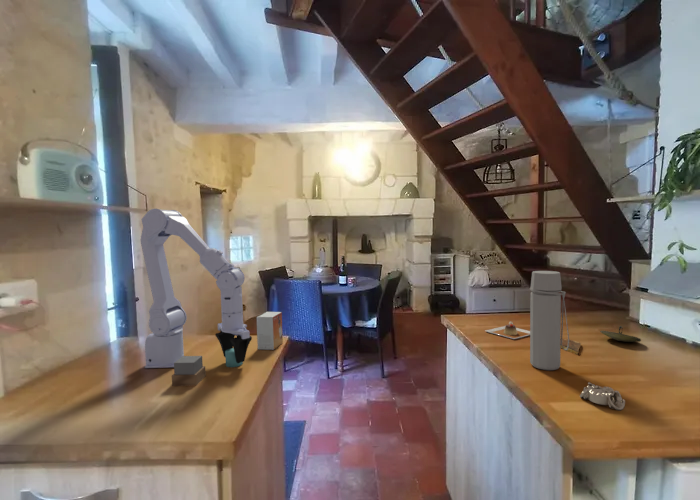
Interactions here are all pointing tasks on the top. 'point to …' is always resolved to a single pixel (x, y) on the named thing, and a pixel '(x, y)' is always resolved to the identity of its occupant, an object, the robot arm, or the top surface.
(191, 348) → the top surface
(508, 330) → the dessert
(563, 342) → the shard
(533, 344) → the water bottle
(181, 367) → the top block
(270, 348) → the small box
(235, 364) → the teal rounded piece
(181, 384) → the base block
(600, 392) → the ornament
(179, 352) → the robot arm
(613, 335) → the lid
